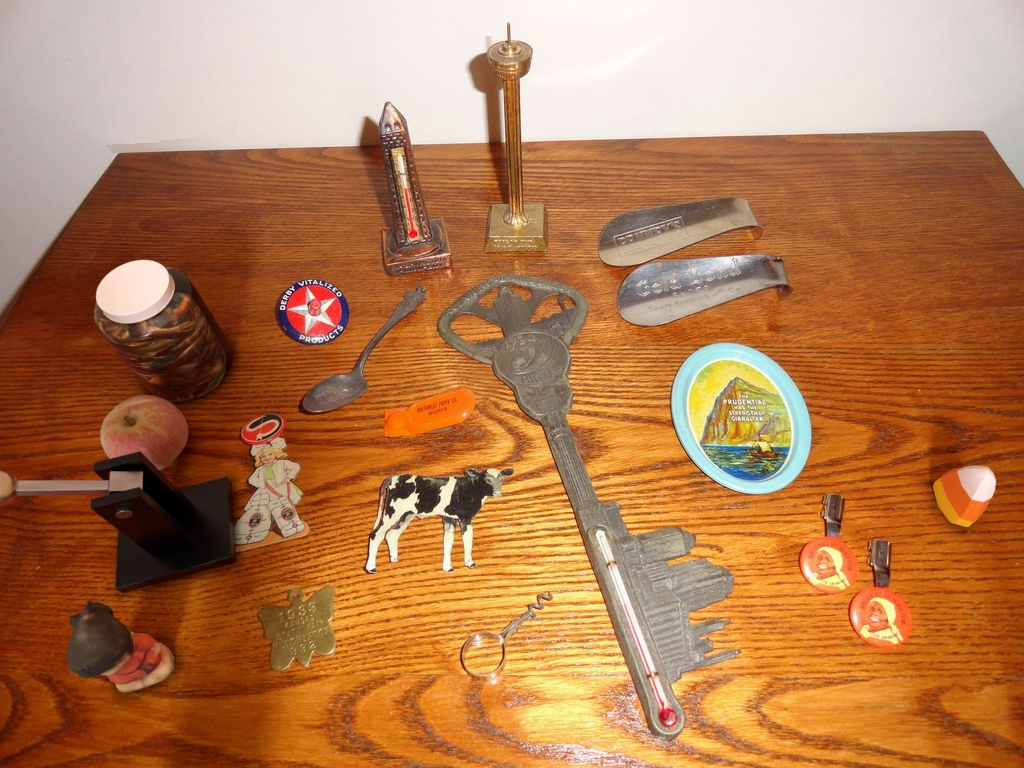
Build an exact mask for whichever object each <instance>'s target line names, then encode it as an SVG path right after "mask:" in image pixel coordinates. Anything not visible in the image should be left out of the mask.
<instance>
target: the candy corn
mask: <svg viewBox="0 0 1024 768" xmlns="http://www.w3.org/2000/svg"><path fill="white" fill-rule="evenodd" d="M996 485H997V479H996V476H995V473H994V472H993V471H992V470H991V468H990V467H989V466H987V465H986V466H985V465H967V466H966V465H965V466H961V467H956V468H953V469H950V470H949V471H947V472H945V473H944V474H943V475H941V477H939V478H938V479H936V480H935V481H934V483H933V485H932V489H933V494H934V497H935V501H936V505H937V508H938V509H939V510H940V511H941V513H942V514H943V515H944V517H945V518H946V519H947V520H948V522H949V523H950V524H953V525H958V526H960V527H965V528H969V527H970V526H971V525H973V524H974V523H975V522H976V521H977V520H978V519H979V518H981V516H982V515H983V513H984V512H985V511H986V509H987V507H988V505H989V504H990V502H991V500H992V498H993V496H994V493H995V491H996Z"/></svg>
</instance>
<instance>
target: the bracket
mask: <svg viewBox="0 0 1024 768" xmlns="http://www.w3.org/2000/svg"><path fill="white" fill-rule="evenodd" d="M110 471H143V490H142V489H141V488H140V487H136V488H133V489H129V490H125V491H121V492H117V493H113V494H109V495H101V496H99V497H94V498H91V499H90V510H92V511H93V512H94V513H96V514H97V515H98V516H99V517H101V518H102V519H103V520H105V521H106V522H107V523H108V524H110V525H111V526H112V527H114V528H115V529H116V530H117V545H116V547H117V548H116V565H115V566H116V568H115V587H114V588H115V590H116V591H118V592H119V593H121V594H125V593H129V592H132V591H135V590H139V589H143V588H146V587H150V586H153V585H157V584H161V583H164V582H168V581H172V580H176V579H179V578H183V577H187V576H190V575H193V574H197V573H201V572H204V571H208V570H212V569H215V568H219V567H223V566H225V565H231V564H233V563H236V562H237V551H236V550H237V549H236V535H235V534H236V533H235V517H234V516H235V515H234V497H233V482H232V481H231V480H230V478H229V477H228V476H223V477H220V478H216V479H212V480H208V481H204V482H200V483H197V484H193V485H190V486H185V487H180V488H178V487H176V485H175V484H173V482H172V481H171V480H170V479H169V478H168V477H167V476H166V475H164V473H163V472H162V471H161V470H158V468H157V467H156V466H155V465H154V464H153V463H152V462H151V461H150V460H149V459H148V458H147V457H146V456H145V455H144V454H143V453H142V452H141V451H139V452H135V453H131V454H127V455H123V456H119V457H115V458H111V459H110V458H108V459H103V460H100V461H96V462H93V473H94V474H96V475H97V476H98V477H99V478H101V480H109V476H110Z"/></svg>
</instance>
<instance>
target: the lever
mask: <svg viewBox="0 0 1024 768" xmlns="http://www.w3.org/2000/svg"><path fill="white" fill-rule="evenodd" d="M136 487H140V488H141V489H142V490H143V471H110V476H109V480H103V479H61V480H60V479H55V480H54V479H53V480H51V479H48V480H47V479H45V480H43V479H42V480H41V479H40V480H39V479H38V480H36V479H35V480H34V479H33V480H32V479H31V480H30V479H29V480H28V479H26V480H25V479H23V480H22V479H18V478H17V477H16V475H14V474H13V473H11V472H10V471H7V470H1V469H0V507H3V506H5V505H8V504H10V503H11V502H13V501H14V500H15V498H17V497H33V496H34V497H37V496H38V497H41V496H43V497H44V496H45V497H46V496H49V497H50V496H106V495H109V494H113V493H117V492H121V491H125V490H129V489H133V488H136Z"/></svg>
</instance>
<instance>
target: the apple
mask: <svg viewBox="0 0 1024 768" xmlns="http://www.w3.org/2000/svg"><path fill="white" fill-rule="evenodd" d="M188 438H189V425H188V422H187V420H186V417H185V416H184V414H183V413H182V412H181V410H180V409H179V408H178V407H177V406H176V405H174V403H173V402H169V401H167V400H165V399H162V398H160V397H156V396H154V395H153V394H141V395H135V396H133V397H130V398H127V399H125V400H123V401H121V402H120V403H119V404H118V405H116V406H115V407H114V408H113V409H112V410H111V411H109V413H108V414H107V415H106V416H105V417H104V419H103V421H102V423H101V427H100V444H101V446H102V447H101V448H102V449H103V451H104V453H105V454H106V456H107V457H108V459H111V458H115V457H119V456H123V455H127V454H131V453H135V452H139V451H141V452H142V453H143V454H144V455H145V456H146V457H147V458H148V459H149V460H150V461H151V462H152V463H153V464H154V465H155V466H156V467H157V468H158V470H159V471H161V470H164V468H166V467H168V466H169V465H171V464H172V463H173V462H174V461H175V460H176V459H177V457H178V456H179V455H180V454H181V453H182V451H183V450H184V449H185V446H186V445H187V442H188Z"/></svg>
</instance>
